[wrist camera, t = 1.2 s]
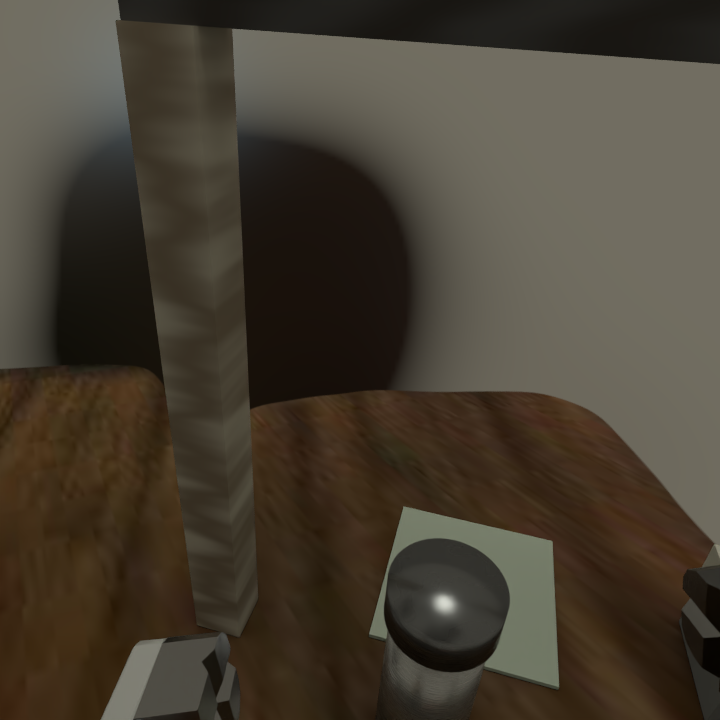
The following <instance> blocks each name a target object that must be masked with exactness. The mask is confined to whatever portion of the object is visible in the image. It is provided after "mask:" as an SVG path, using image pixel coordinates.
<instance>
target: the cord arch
mask: <svg viewBox="0 0 720 720" xmlns="http://www.w3.org/2000/svg"><path fill="white" fill-rule="evenodd" d="M118 3H119V10H120V18H121V20H116V27H117V35H118V42H119V49H120V57H121V63H122V72H123V79H124V87H125V94H126V101H127V109H128V116H129V123H130V131H131V139H132V146H133V153H134V161H135V168H136V176H137V183H138V190H139V198H140V205H141V213H142V220H143V227H144V235H145V242H146V250H147V257H148V265H149V272H150V280H151V287H152V294H153V302H154V309H155V317H156V324H157V332H158V338H159V346H160V354H161V361H162V368H163V376H164V384H165V391H166V398H167V406H168V413H169V421H170V428H171V435H172V443H173V450H174V458H175V465H176V473H177V480H178V487H179V495H180V502H181V510H182V517H183V525H184V532H185V539H186V547H187V554H188V562H189V569H190V577H191V584H192V591H193V599H194V606H195V614H196V621H197V625H198V626H202V627H205V628H209V629H212V630H215V631H219V632H223V633H226V634H229V635H232V636H236V637H240V635H241V633H242V631H243V629H244V627H245V625H246V623H247V621H248V619H249V617H250V615H251V613H252V611H253V609H254V607H255V605H256V603H257V600H258V582H257V560H256V538H255V516H254V495H253V473H252V451H251V429H250V407H249V386H248V364H247V344H246V321H245V298H244V280H243V279H244V277H243V255H242V233H241V211H240V189H239V168H238V146H237V125H236V104H235V103H236V102H235V82H234V59H233V37H232V29H247V30H261V31H274V32H287V33H301V34H315V35H329V36H342V37H356V38H370V39H384V40H397V41H411V42H426V43H439V44H452V45H466V46H480V47H494V48H508V49H522V50H535V51H549V52H563V53H576V54H590V55H604V56H618V57H631V58H645V59H658V60H673V61H686V62H699V63H713V64H720V0H118Z"/></svg>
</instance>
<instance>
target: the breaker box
mask: <svg viewBox="0 0 720 720" xmlns="http://www.w3.org/2000/svg"><path fill="white" fill-rule="evenodd" d="M716 565H720V545H716V544H714V546H713V548H712V549H711V551H710V553H709V555H708V557H707V559H706V561H705V562H704V564H703V566H702V567H709V566H716ZM679 624H680V628H681V631H682V635H683V639H684V643H685V647H686V651H687V655H688V658H689V662H690V666H691V670H692V674H693V678H694V682H695V686H696V689H697V693H698V697H699V701H700V705H701V709H702V713H703V716H704V720H720V692H719V681H720V678H718V677H716V676H715V675H713V674H711V673H710V672H708V671H706V670H704V669H703V668H701V666H700V665H699V663H698V662H697V661H696V659H695V658H694V656H693V655H692V653H691V651H690V649H689V647H688V645H687V643H686V640H685V636H684V633H683V629H682V617H681V618H680V620H679Z"/></svg>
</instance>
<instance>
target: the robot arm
mask: <svg viewBox="0 0 720 720" xmlns="http://www.w3.org/2000/svg"><path fill="white" fill-rule="evenodd" d="M683 590H684V591H685V592H686V593H687V595H688V596H689V597H690V600H689V601H688V602H687V603H686V605H685V606H684V607H683V608H682V629H683V633H684V636H685V640H686V643H687V645H688V647H689V649H690V651H691V653H692V655H693V656H694V658H695V659H696V661H697V662H698V663H699V665H700V666H701V668H703V669H704V670H706V671H708V672H710V673H711V674H713V675H715V676H716V677H718V678H720V565H716V566H709V567H702V568H695V569H688V570H687V571H686V573H685V575H684V577H683ZM229 653H230V645H229V642H228V639H227V636H226V634H225V633H223V632H214V633H205V634H196V635H186V636H177V637H168V638H166V639H155V640H146V641H140V642H139V643H137V644H136V645H135V646H134V648H133V649H132V651H131V654H130V656H129V658H128V660H127V662H126V665H125V667H124V669H123V671H122V674H121V676H120V678H119V680H118V682H117V685H116V687H115V689H114V691H113V694H112V696H111V698H110V700H109V703H108V705H107V707H106V709H105V711H104V714H103V716H102V718H101V720H238V718H239V713H240V688H239V679H238V675H237V671H236V668H235V667H233V666H232V665H231V664H230V663H228V657H229ZM719 692H720V681H719Z"/></svg>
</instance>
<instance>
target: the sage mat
mask: <svg viewBox="0 0 720 720" xmlns="http://www.w3.org/2000/svg"><path fill="white" fill-rule="evenodd" d="M432 538H443V539H451V540H456V541H459V542H463V543H465V544H468V545H470V546H472V547H474V548H476V549H477V550H479V551H481V552H482V553H483V554H485V555H486V556H487V557H489V558H490V559H491V560H492V561H493V562H494V563H495V565H496V566H497V567H498V568H499V570H500V571H501V573H502V574H503V576H504V578H505V580H506V582H507V585H508V588H509V593H510V606H509V610H508V614H507V617H506V620H505V624H504V627H503V630H502V634H501V637H500V640H499V644H498V646H497V648H496V650H495V652H494V653H493V654H492V656H491V657H490V658H489V659H488V660H487V661H486V662H485V665H484V669H485V670H489V671H492V672H496V673H500V674H503V675H507V676H510V677H514V678H517V679H521V680H524V681H528V682H532V683H535V684H539V685H542V686H546V687H549V688H553V689H557V690H558V688H559V675H558V654H557V632H556V610H555V589H554V567H553V545H552V541H550V540H545V539H541V538H537V537H532V536H528V535H524V534H519V533H515V532H511V531H507V530H502V529H498V528H494V527H489V526H485V525H481V524H476V523H472V522H468V521H464V520H459V519H455V518H451V517H446V516H442V515H438V514H433V513H429V512H425V511H421V510H416V509H412V508H408V507H404V508H403V511H402V515H401V519H400V522H399V526H398V530H397V533H396V537H395V541H394V544H393V548H392V552H391V555H390V559H389V563H388V567H387V570H386V574H385V578H384V581H383V585H382V589H381V592H380V596H379V600H378V603H377V607H376V611H375V614H374V618H373V622H372V626H371V629H370V633H369V637H371V638H375V639H378V640H382V641H385V642H386V637H387V627H386V624H385V619H384V602H385V594H386V586H387V579H388V573H389V569H390V566H391V563H392V562H393V560H394V558H395V557H396V556H397V554H398V553H399V552H400V551H402V550H403V549H404V548H405V547H407V546H409V545H411V544H412V543H415V542H418V541H421V540H425V539H432Z"/></svg>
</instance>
